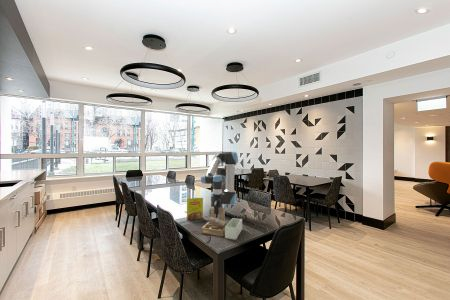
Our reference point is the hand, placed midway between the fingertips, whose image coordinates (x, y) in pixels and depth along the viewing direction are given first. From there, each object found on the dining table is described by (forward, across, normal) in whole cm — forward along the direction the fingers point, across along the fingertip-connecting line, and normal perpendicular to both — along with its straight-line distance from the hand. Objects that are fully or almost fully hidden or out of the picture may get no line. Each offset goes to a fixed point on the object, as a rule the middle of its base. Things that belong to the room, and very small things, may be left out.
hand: (217, 220), depth 181 cm
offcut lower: (+7, +6, 0) cm, 9 cm away
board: (+7, 0, 0) cm, 7 cm away
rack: (+7, +5, 0) cm, 8 cm away
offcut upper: (+5, +6, 0) cm, 8 cm away
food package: (+7, -16, -29) cm, 34 cm away
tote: (+7, +5, +16) cm, 18 cm away
